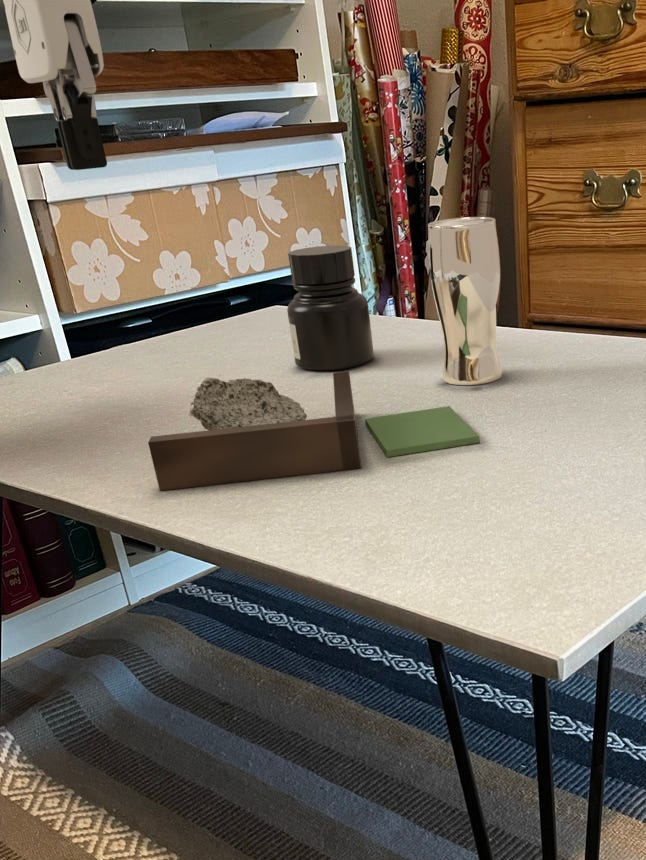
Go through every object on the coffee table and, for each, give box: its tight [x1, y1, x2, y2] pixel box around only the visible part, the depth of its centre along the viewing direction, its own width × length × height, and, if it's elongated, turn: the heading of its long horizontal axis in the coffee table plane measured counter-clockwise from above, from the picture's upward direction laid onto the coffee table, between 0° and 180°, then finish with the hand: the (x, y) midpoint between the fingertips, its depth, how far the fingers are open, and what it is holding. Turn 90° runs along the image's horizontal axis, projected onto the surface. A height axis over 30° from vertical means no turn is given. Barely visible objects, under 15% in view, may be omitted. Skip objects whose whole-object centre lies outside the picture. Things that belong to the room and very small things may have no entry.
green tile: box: [364, 405, 481, 458], centre depth 86 cm, size 8×10×1 cm
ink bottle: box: [286, 244, 375, 371], centre depth 108 cm, size 10×9×12 cm
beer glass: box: [427, 216, 503, 386], centre depth 98 cm, size 7×7×15 cm
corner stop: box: [147, 370, 362, 492], centre depth 84 cm, size 16×16×4 cm
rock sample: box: [188, 374, 317, 431], centre depth 86 cm, size 10×8×9 cm
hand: (88, 167), depth 91 cm, fingers closed
